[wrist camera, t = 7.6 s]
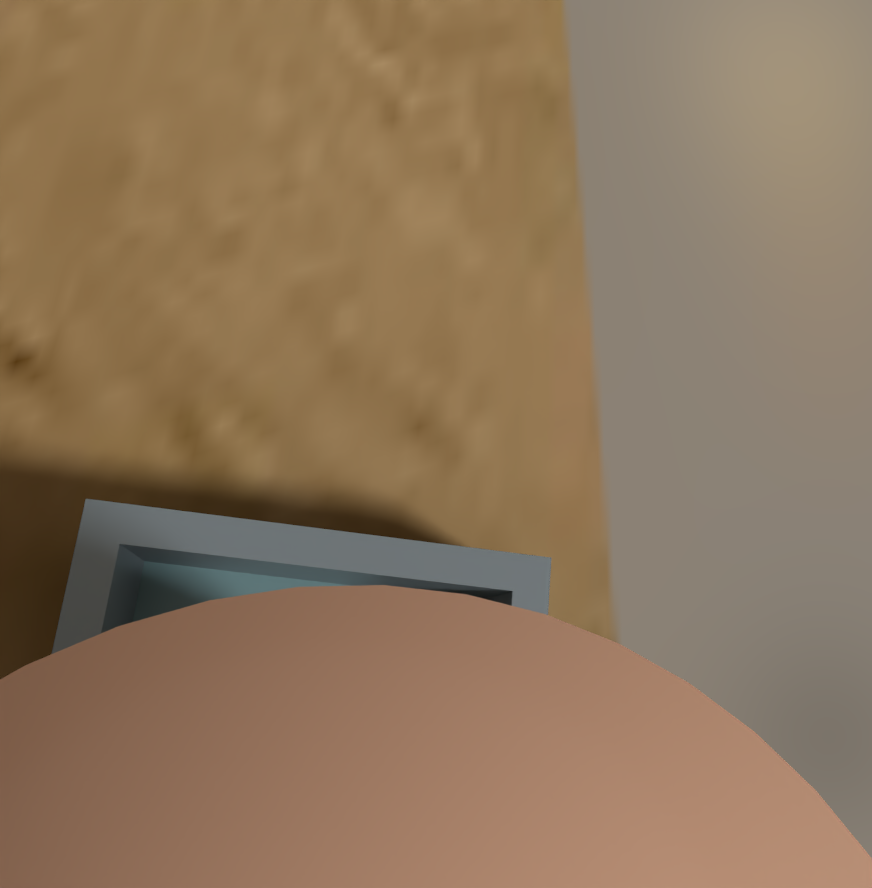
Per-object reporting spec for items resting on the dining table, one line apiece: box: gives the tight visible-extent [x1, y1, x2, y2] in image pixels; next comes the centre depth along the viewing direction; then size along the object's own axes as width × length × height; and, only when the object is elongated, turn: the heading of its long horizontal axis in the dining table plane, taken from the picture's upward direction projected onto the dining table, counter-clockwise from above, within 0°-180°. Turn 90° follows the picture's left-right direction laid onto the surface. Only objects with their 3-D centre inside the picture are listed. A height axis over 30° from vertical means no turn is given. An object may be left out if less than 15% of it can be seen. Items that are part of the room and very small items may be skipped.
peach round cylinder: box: [0, 585, 872, 888], centre depth 9 cm, size 5×5×13 cm
